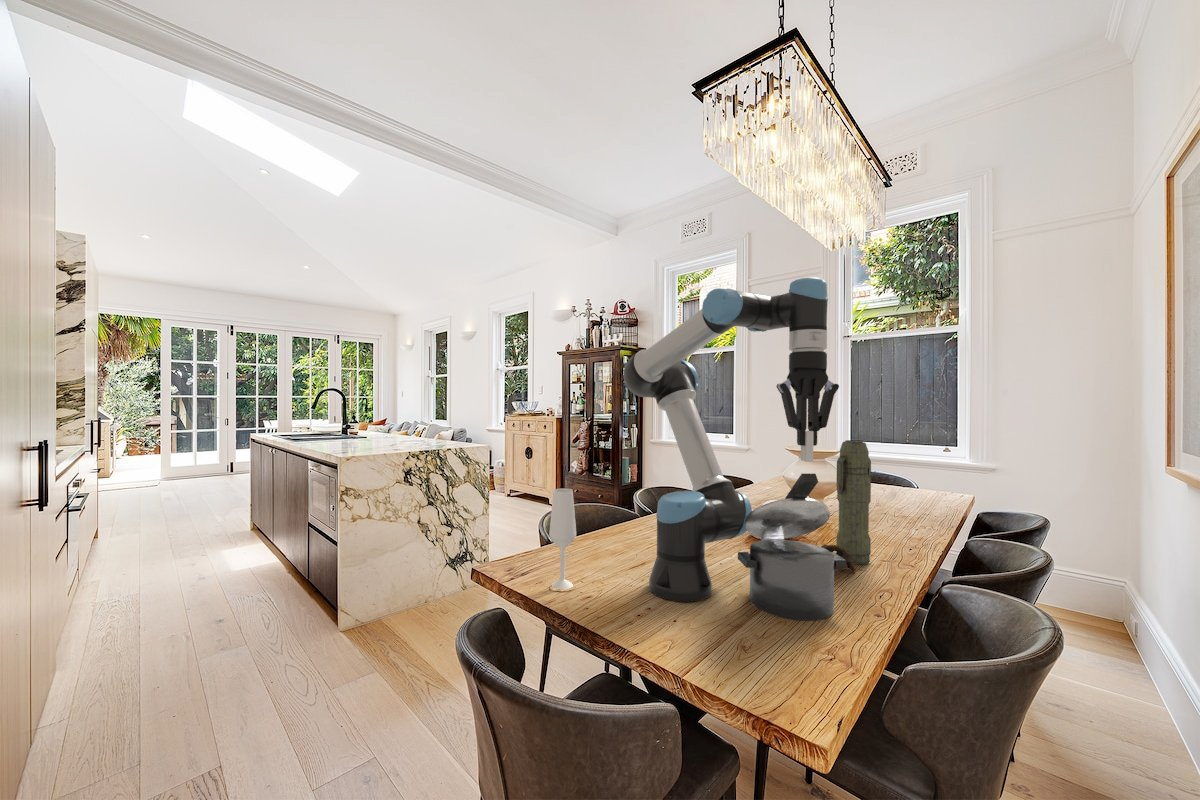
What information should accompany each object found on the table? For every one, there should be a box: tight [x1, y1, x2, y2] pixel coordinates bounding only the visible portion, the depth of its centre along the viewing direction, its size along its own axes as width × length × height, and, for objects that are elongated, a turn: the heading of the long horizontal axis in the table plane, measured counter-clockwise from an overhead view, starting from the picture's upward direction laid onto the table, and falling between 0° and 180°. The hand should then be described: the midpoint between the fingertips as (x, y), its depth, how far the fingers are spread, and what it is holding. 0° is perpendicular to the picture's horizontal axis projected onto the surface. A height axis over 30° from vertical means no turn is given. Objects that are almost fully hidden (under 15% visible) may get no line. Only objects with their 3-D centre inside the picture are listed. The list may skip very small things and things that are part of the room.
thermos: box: [836, 439, 872, 565], centre depth 142 cm, size 9×12×35 cm
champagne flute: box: [548, 487, 577, 589], centre depth 119 cm, size 7×7×24 cm
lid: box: [745, 473, 831, 540], centre depth 112 cm, size 19×26×3 cm
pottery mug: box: [820, 544, 856, 574], centre depth 133 cm, size 12×10×8 cm
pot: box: [737, 538, 846, 622], centre depth 113 cm, size 23×21×12 cm
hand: (806, 460), depth 104 cm, fingers closed
